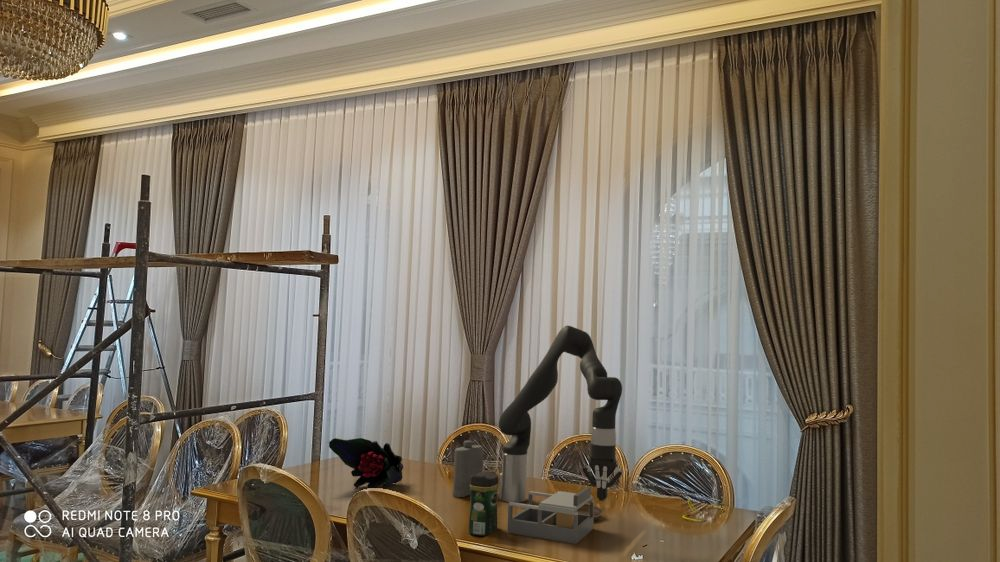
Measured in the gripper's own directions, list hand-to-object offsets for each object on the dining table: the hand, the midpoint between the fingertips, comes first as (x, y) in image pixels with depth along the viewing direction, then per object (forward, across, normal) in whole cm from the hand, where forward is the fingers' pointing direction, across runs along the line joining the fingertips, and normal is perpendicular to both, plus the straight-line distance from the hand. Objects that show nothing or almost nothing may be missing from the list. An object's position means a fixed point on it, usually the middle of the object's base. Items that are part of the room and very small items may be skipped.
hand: (601, 500), depth 211 cm
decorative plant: (+12, +97, -21) cm, 100 cm away
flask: (+12, +62, -33) cm, 71 cm away
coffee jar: (+13, +35, +10) cm, 39 cm away
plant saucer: (+13, +16, -22) cm, 30 cm away
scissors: (+13, -22, -52) cm, 58 cm away
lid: (+3, +11, 0) cm, 12 cm away
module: (+11, +11, 0) cm, 16 cm away
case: (+12, +16, 0) cm, 20 cm away
